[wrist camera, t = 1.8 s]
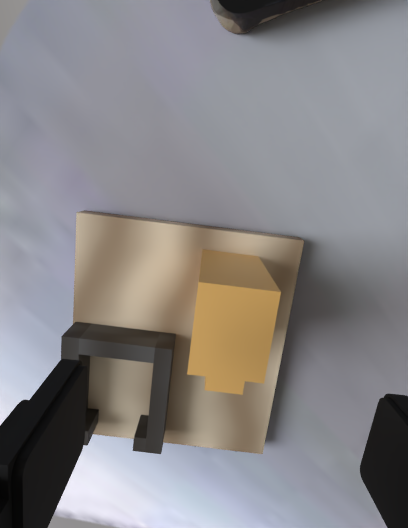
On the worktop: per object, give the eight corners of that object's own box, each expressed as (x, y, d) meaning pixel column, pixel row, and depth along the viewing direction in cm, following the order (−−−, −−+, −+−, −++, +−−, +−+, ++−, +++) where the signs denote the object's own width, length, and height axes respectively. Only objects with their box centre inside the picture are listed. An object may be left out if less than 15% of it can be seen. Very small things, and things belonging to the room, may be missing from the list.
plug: (258, 256, 24) (281, 292, 16) (246, 331, 25) (261, 397, 18) (202, 249, 24) (198, 281, 16) (193, 324, 25) (185, 388, 18)
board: (298, 237, 25) (314, 247, 21) (259, 440, 29) (267, 480, 26) (84, 210, 25) (61, 216, 21) (76, 418, 29) (56, 455, 25)
